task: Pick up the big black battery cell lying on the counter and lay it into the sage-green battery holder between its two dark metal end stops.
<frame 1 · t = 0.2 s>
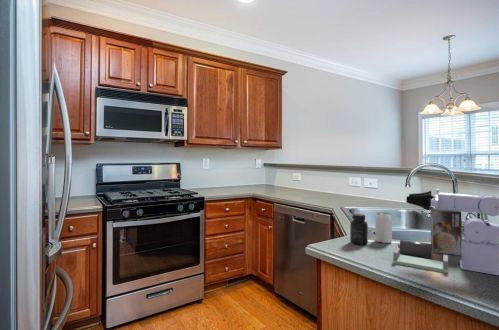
hand: (407, 198, 103), 21 cm above the worktop, tool horizontal, fingers open, 7 cm apart
can: (383, 241, 123), on the worktop
cell: (415, 255, 105), on the worktop
holder: (420, 264, 96), on the worktop
supplement bottle: (358, 243, 120), on the worktop
coffee box: (445, 252, 109), on the worktop
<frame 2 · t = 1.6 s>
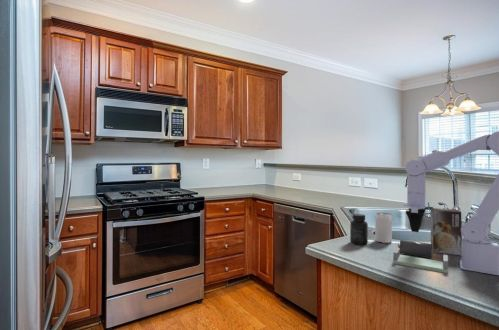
hand: (415, 229, 105), 9 cm above the worktop, tool pointing down, fingers open, 7 cm apart
nothing on the worktop moved.
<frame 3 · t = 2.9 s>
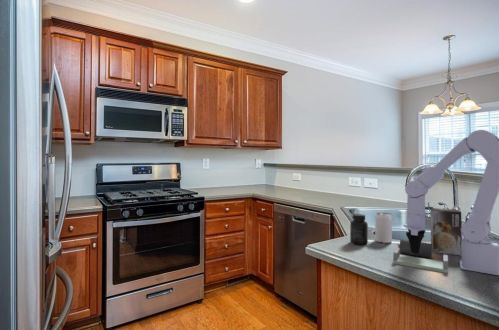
hand: (415, 250, 105), 2 cm above the worktop, tool pointing down, fingers closed on cell, 5 cm apart
cell: (415, 255, 105), on the worktop, touching gripper
everything else where it was.
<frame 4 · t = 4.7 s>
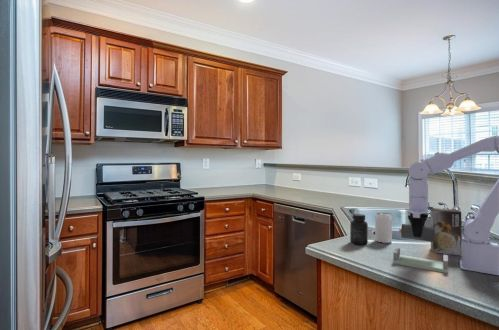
hand: (418, 235, 101), 8 cm above the worktop, tool pointing down, fingers closed on cell, 5 cm apart
cell: (417, 239, 102), point 7 cm above the worktop, touching gripper
everything else where it was.
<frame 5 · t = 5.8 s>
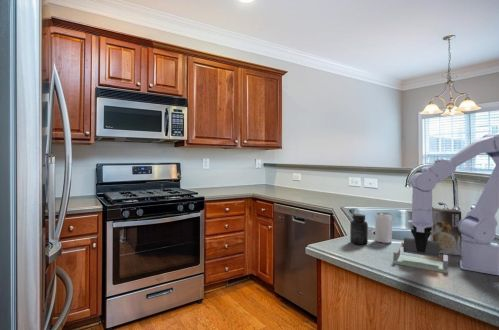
hand: (421, 249, 96), 5 cm above the worktop, tool pointing down, fingers closed on cell, 5 cm apart
cell: (421, 254, 96), point 3 cm above the worktop, touching gripper
everything else where it was.
when the fingers open (4 cm above the worktop, at t = 6.5 s): cell drops 1 cm, resting on holder.
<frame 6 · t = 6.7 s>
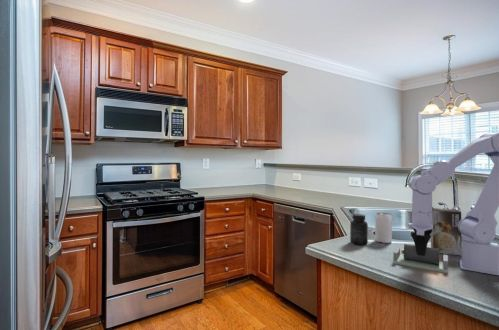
hand: (421, 252, 96), 4 cm above the worktop, tool pointing down, fingers open, 7 cm apart
cell: (421, 261, 96), point 1 cm above the worktop, touching holder
everything else where it was.
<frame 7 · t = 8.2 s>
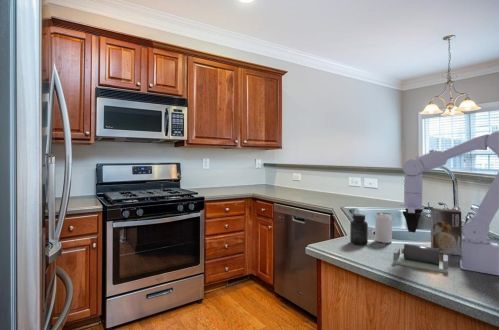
hand: (412, 229, 104), 9 cm above the worktop, tool pointing down, fingers open, 7 cm apart
nothing on the worktop moved.
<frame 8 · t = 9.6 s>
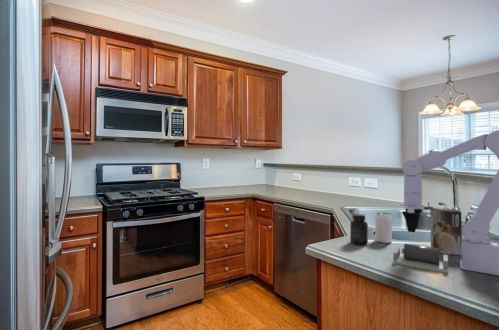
hand: (412, 229, 105), 9 cm above the worktop, tool pointing down, fingers open, 7 cm apart
cell: (421, 261, 96), point 1 cm above the worktop, tilted 12°, touching holder
everything else where it was.
at the end: cell 0.3 cm off-centre on the holder, point 1.0 cm above the holder's base; cell touching holder; the gripper is holding nothing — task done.
